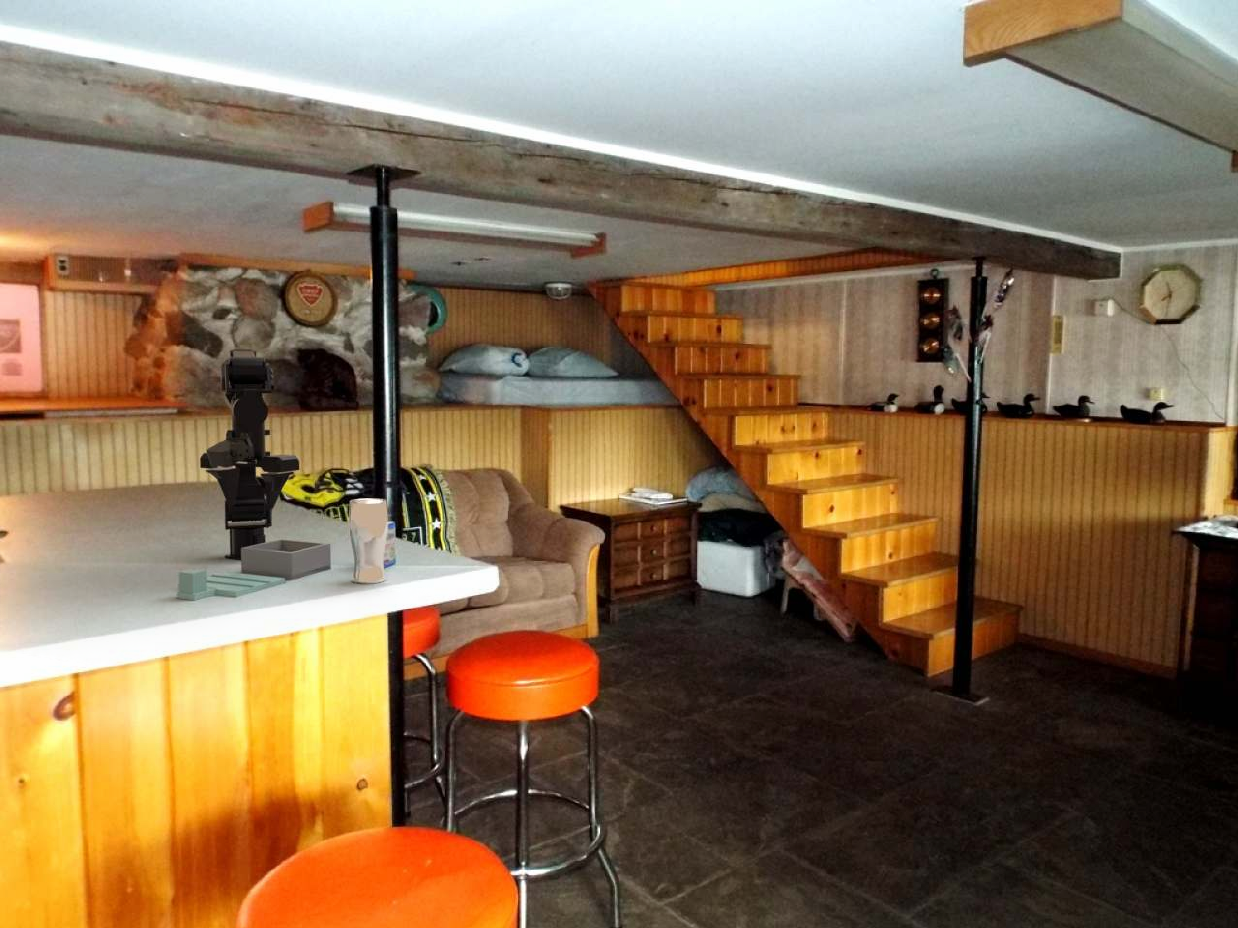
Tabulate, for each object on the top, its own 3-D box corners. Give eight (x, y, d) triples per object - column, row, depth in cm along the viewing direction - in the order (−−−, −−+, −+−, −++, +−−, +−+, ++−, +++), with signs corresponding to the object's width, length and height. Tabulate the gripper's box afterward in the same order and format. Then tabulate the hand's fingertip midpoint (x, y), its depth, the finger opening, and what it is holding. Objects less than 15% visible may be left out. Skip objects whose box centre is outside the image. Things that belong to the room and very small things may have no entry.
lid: (156, 595, 158) (156, 569, 157) (229, 577, 173) (228, 553, 173) (215, 603, 153) (215, 576, 153) (285, 583, 169) (284, 559, 168)
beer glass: (353, 576, 175) (352, 498, 173) (391, 576, 175) (390, 498, 174) (346, 584, 168) (345, 503, 167) (384, 584, 169) (384, 503, 167)
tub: (241, 573, 175) (240, 548, 175) (281, 563, 186) (281, 538, 185) (292, 579, 171) (291, 553, 171) (330, 568, 181) (330, 543, 181)
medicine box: (378, 571, 180) (378, 527, 179) (357, 570, 181) (357, 526, 180) (396, 563, 187) (395, 521, 187) (376, 562, 188) (375, 520, 188)
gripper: (175, 424, 167) (178, 510, 168) (257, 428, 160) (259, 516, 162) (221, 422, 177) (223, 502, 179) (300, 425, 171) (302, 508, 172)
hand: (250, 507), depth 173 cm, fingers open, 9 cm apart
